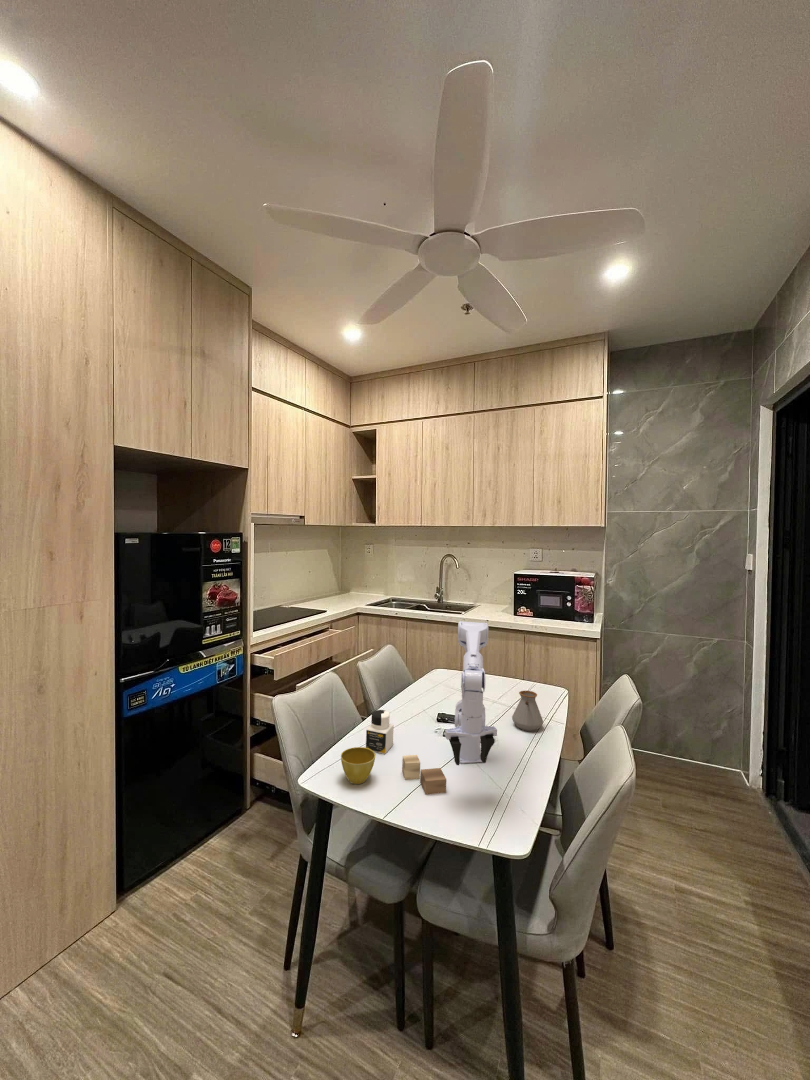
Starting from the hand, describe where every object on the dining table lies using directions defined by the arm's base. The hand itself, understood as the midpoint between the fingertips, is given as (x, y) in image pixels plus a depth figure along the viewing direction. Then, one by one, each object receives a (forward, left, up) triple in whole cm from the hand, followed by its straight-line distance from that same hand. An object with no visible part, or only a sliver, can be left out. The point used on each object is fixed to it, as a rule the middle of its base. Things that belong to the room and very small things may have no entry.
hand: (470, 762), depth 121 cm
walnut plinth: (-6, -9, -10) cm, 15 cm away
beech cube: (-13, -14, -10) cm, 21 cm away
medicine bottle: (-31, -21, -10) cm, 39 cm away
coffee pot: (-36, +35, -10) cm, 51 cm away
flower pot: (-13, -30, -10) cm, 34 cm away
